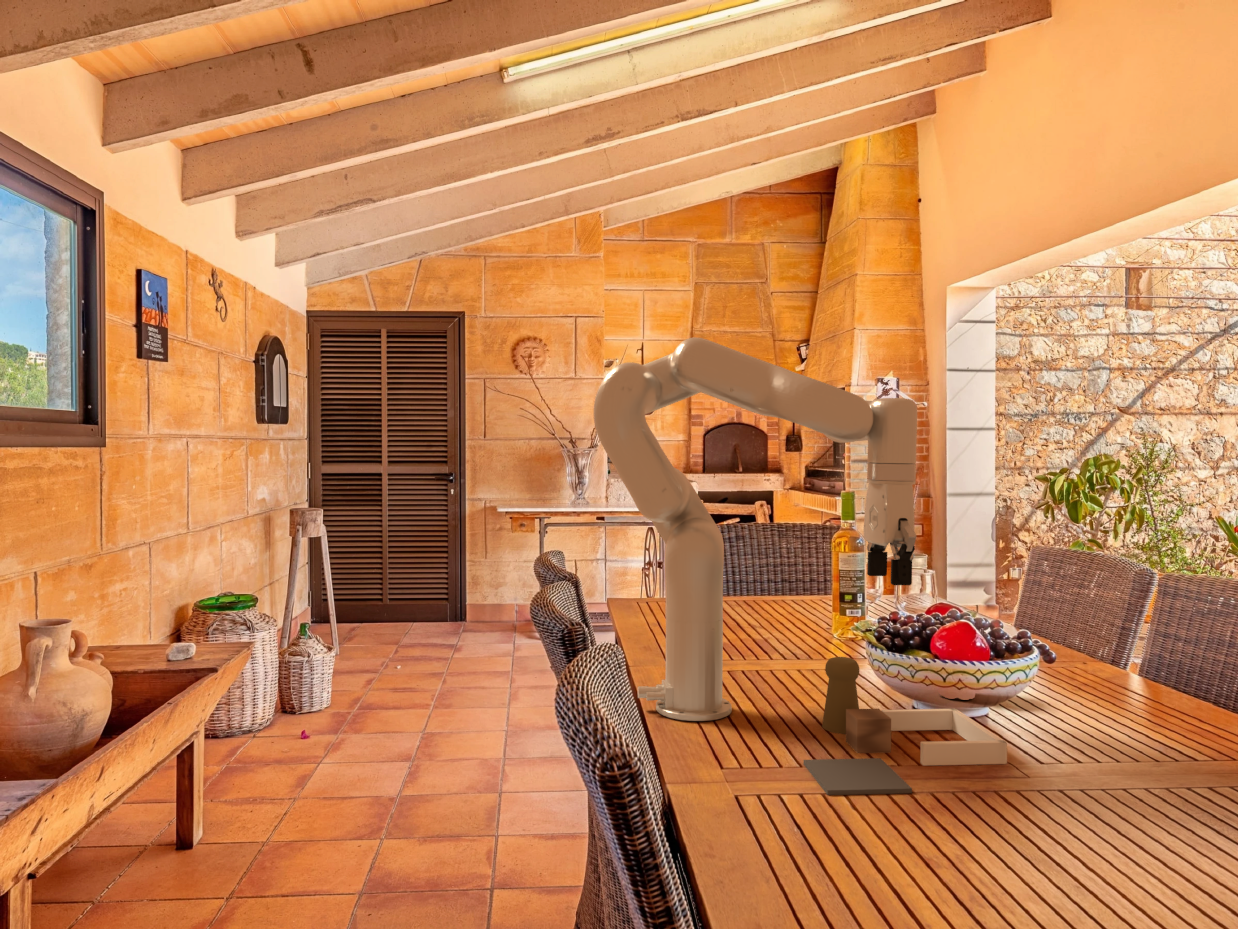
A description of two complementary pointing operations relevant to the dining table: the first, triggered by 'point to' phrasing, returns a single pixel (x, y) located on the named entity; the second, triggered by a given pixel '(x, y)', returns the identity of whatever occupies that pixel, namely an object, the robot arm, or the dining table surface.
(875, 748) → the walnut block
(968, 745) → the tray
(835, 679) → the cork
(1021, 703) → the dining table surface
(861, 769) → the mat
